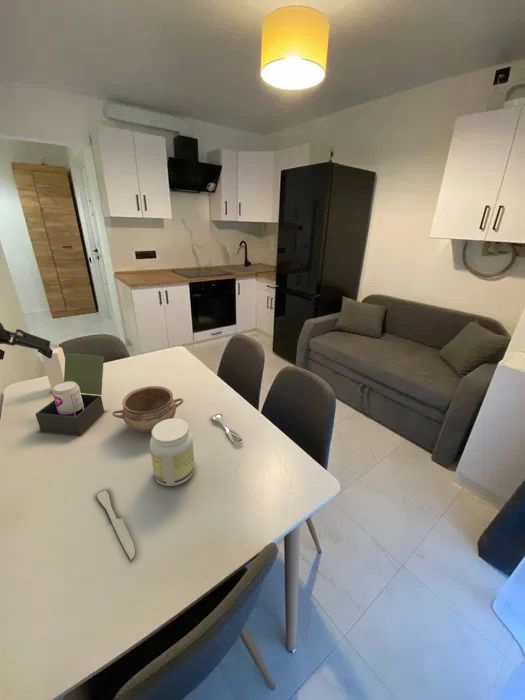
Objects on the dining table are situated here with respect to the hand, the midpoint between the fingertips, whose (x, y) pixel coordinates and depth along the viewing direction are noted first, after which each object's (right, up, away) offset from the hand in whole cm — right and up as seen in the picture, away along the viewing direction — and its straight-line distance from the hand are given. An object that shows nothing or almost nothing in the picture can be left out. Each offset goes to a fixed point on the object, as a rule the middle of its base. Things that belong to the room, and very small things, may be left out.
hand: (27, 355), depth 92 cm
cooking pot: (+32, -28, +19) cm, 47 cm away
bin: (+2, -26, +19) cm, 32 cm away
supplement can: (+2, -25, +19) cm, 32 cm away
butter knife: (+37, -43, -17) cm, 59 cm away
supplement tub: (+47, -37, -1) cm, 60 cm away
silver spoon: (+61, -29, +18) cm, 70 cm away
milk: (-17, -16, +40) cm, 46 cm away
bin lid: (+4, -8, +22) cm, 24 cm away
